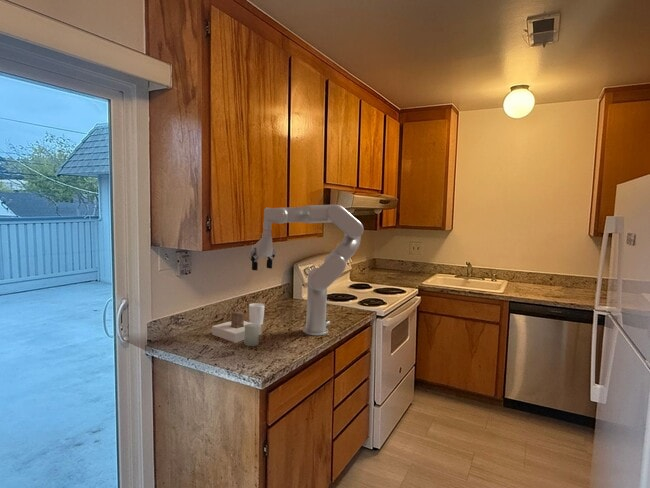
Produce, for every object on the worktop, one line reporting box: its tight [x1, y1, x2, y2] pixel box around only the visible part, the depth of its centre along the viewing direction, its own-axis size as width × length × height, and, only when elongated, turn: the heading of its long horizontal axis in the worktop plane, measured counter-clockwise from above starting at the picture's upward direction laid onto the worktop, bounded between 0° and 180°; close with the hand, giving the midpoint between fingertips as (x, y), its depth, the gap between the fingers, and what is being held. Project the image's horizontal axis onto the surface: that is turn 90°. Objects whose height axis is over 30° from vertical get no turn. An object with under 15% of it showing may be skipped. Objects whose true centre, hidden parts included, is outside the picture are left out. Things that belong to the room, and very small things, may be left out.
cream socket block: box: [211, 320, 263, 343], centre depth 181 cm, size 16×16×4 cm
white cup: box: [248, 302, 266, 326], centre depth 199 cm, size 8×8×10 cm
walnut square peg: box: [230, 310, 245, 329], centre depth 181 cm, size 4×4×10 cm
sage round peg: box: [243, 324, 260, 347], centre depth 170 cm, size 6×6×8 cm
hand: (262, 269), depth 185 cm, fingers open, 9 cm apart
